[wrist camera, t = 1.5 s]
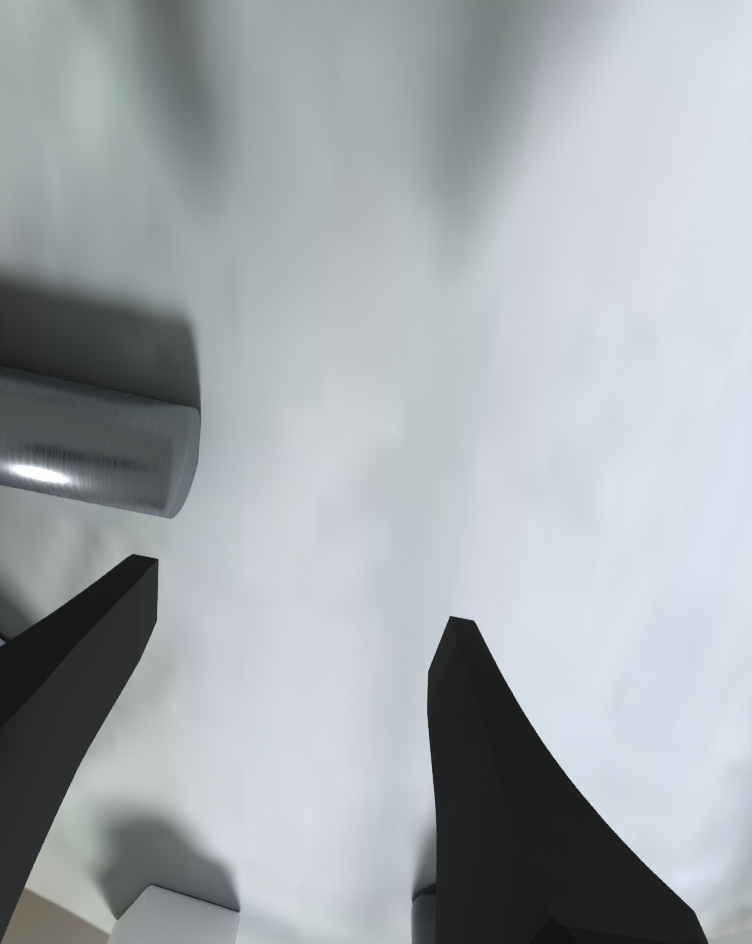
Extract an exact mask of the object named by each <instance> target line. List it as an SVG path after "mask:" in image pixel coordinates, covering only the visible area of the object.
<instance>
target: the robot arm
mask: <svg viewBox="0 0 752 944" xmlns="http://www.w3.org/2000/svg"><path fill="white" fill-rule="evenodd" d="M157 600H158V559H156V558H150V557H145V556H140V555H135V554H132V555H130V556H129V557H127V558H126V559H125V560H123V561H122V562H121V563H119V564H118V565H117V566H115V567H114V568H113V569H112V570H110V571H109V572H108V573H106V574H105V575H104V576H102V577H101V578H100V579H98V580H97V581H96V582H94V583H93V584H92V585H90V586H89V587H88V588H86V589H85V590H84V591H82V592H81V593H80V594H78V595H77V596H75V597H74V598H73V599H71V600H70V601H68V602H67V603H66V604H64V605H63V606H61V607H60V608H59V609H57V610H56V611H54V612H53V613H51V614H50V615H48V616H47V617H45V618H44V619H42V620H41V621H39V622H38V623H36V624H35V625H33V626H31V627H30V628H28V629H27V630H25V631H24V632H22V633H21V634H19V635H18V636H16V637H14V638H13V639H11V640H9V641H8V642H4V641H3V640H2V639H1V638H0V943H1V941H2V939H3V936H4V934H5V931H6V929H7V926H8V924H9V921H10V919H11V916H12V914H13V912H14V910H15V907H16V905H17V903H18V900H19V898H20V895H21V893H22V891H23V889H24V886H25V884H26V882H27V879H28V877H29V875H30V872H31V870H32V868H33V865H34V863H35V861H36V858H37V856H38V854H39V852H40V849H41V847H42V845H43V843H44V841H45V838H46V836H47V834H48V832H49V829H50V827H51V825H52V823H53V821H54V818H55V816H56V814H57V812H58V810H59V807H60V805H61V803H62V801H63V799H64V797H65V795H66V792H67V790H68V788H69V786H70V784H71V782H72V780H73V778H74V775H75V773H76V771H77V769H78V767H79V765H80V763H81V761H82V759H83V758H84V756H85V754H86V752H87V750H88V748H89V746H90V745H91V743H92V741H93V740H94V738H95V736H96V734H97V733H98V731H99V729H100V728H101V726H102V724H103V723H104V721H105V719H106V717H107V716H108V714H109V712H110V711H111V709H112V707H113V705H114V704H115V702H116V700H117V699H118V697H119V695H120V694H121V692H122V690H123V688H124V687H125V685H126V683H127V682H128V680H129V678H130V676H131V675H132V673H133V671H134V669H135V668H136V666H137V664H138V662H139V661H140V659H141V656H142V654H143V652H144V650H145V647H146V645H147V643H148V641H149V638H150V636H151V634H152V631H153V629H154V626H155V624H156V622H157ZM427 716H428V728H429V740H430V751H431V762H432V773H433V784H434V795H435V806H436V825H437V874H436V930H435V944H708V941H707V938H706V936H705V934H704V932H703V930H702V927H701V925H700V923H699V921H698V918H697V916H696V914H695V912H694V911H693V910H692V909H691V908H690V907H689V906H688V905H687V904H686V903H685V902H684V901H683V900H682V899H681V898H680V897H679V896H678V895H677V894H676V893H675V892H673V891H672V890H671V889H670V888H669V887H668V886H667V885H666V884H665V883H664V882H663V881H662V880H661V879H660V878H659V877H658V876H657V875H656V874H655V873H653V872H652V871H651V870H650V869H649V868H648V867H647V866H646V865H645V864H644V863H643V862H642V861H641V860H640V859H639V857H638V856H637V855H636V854H635V853H634V852H633V851H632V850H631V849H630V848H629V847H628V846H627V845H626V844H625V843H624V842H623V841H622V840H621V839H620V838H619V836H618V835H617V834H616V833H615V832H614V831H613V830H612V829H611V828H610V826H609V825H608V824H607V823H606V822H605V821H604V820H603V819H602V817H601V816H600V815H599V814H598V813H597V812H596V810H595V809H594V808H593V807H592V806H591V804H590V803H589V802H588V801H587V800H586V799H585V797H584V796H583V795H582V794H581V793H580V791H579V790H578V789H577V788H576V786H575V785H574V784H573V783H572V781H571V780H570V779H569V778H568V776H567V775H566V774H565V772H564V771H563V770H562V768H561V767H560V766H559V764H558V763H557V761H556V760H555V759H554V757H553V756H552V755H551V753H550V752H549V750H548V749H547V748H546V746H545V745H544V743H543V742H542V740H541V739H540V737H539V736H538V734H537V733H536V731H535V729H534V728H533V726H532V725H531V723H530V722H529V720H528V718H527V717H526V715H525V714H524V712H523V710H522V709H521V707H520V705H519V704H518V702H517V700H516V698H515V697H514V695H513V693H512V691H511V690H510V688H509V686H508V684H507V683H506V681H505V679H504V677H503V675H502V674H501V672H500V670H499V668H498V666H497V664H496V662H495V660H494V658H493V657H492V655H491V653H490V651H489V649H488V647H487V645H486V643H485V641H484V639H483V637H482V635H481V633H480V631H479V629H478V627H477V625H476V623H475V622H474V621H473V620H468V619H463V618H458V617H453V616H450V618H449V620H448V623H447V625H446V628H445V630H444V633H443V635H442V638H441V640H440V643H439V645H438V648H437V651H436V653H435V656H434V658H433V661H432V663H431V666H430V668H429V671H428V695H427Z"/></svg>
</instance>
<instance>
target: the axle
mask: <svg viewBox="0 0 752 944" xmlns="http://www.w3.org/2000/svg"><path fill="white" fill-rule="evenodd" d="M200 428H201V418H200V414H199V411H198V410H197V409H196V408H193V407H188V406H184V405H179V404H174V403H170V402H165V401H161V400H156V399H151V398H147V397H142V396H137V395H133V394H128V393H124V392H119V391H114V390H110V389H105V388H100V387H96V386H91V385H87V384H82V383H77V382H73V381H68V380H63V379H59V378H54V377H50V376H45V375H40V374H36V373H31V372H26V371H22V370H17V369H13V368H8V367H3V366H0V485H2V486H7V487H12V488H17V489H22V490H28V491H33V492H38V493H43V494H48V495H53V496H58V497H63V498H68V499H73V500H78V501H83V502H88V503H93V504H98V505H103V506H108V507H113V508H118V509H123V510H129V511H134V512H139V513H144V514H149V515H154V516H159V517H164V518H169V519H171V518H173V517H175V516H176V515H177V514H178V513H179V511H180V510H181V508H182V506H183V504H184V502H185V500H186V498H187V496H188V493H189V491H190V488H191V485H192V482H193V479H194V475H195V472H196V468H197V463H198V454H199V441H200Z"/></svg>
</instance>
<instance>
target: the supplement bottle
mask: <svg viewBox="0 0 752 944" xmlns="http://www.w3.org/2000/svg"><path fill="white" fill-rule="evenodd" d="M435 930H436V885H433V886H431V887H428V888H427V889H425V890H423V891H422V892H421V893H420V894H419V895H418V896H417V897H416V899H415V900H414V902H413V905H412V910H411V935H412V944H435Z"/></svg>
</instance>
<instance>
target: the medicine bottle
mask: <svg viewBox="0 0 752 944" xmlns="http://www.w3.org/2000/svg"><path fill="white" fill-rule="evenodd" d="M239 920H240V915H239V913H238V912H236V911H233V910H230V909H227V908H224V907H220V906H217V905H214V904H211V903H208V902H205V901H201V900H198V899H195V898H192V897H189V896H186V895H182V894H179V893H176V892H173V891H170V890H167V889H163V888H160V887H157V886H154V885H150V886H148V887H147V888H146V889H145V890H144V891H143V893H142V894H141V895H140V896H139V897H138V898H137V899H136V900H135V902H134V903H133V904H132V905H131V906H130V907H129V908H128V909H127V911H126V912H125V913H124V914H123V915H122V916H121V917H120V918H119V920H118V921H117V922H116V923H115V925H114V927H113V929H112V932H111V935H110V938H109V940H108V943H107V944H235V940H236V935H237V930H238V925H239Z"/></svg>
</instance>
